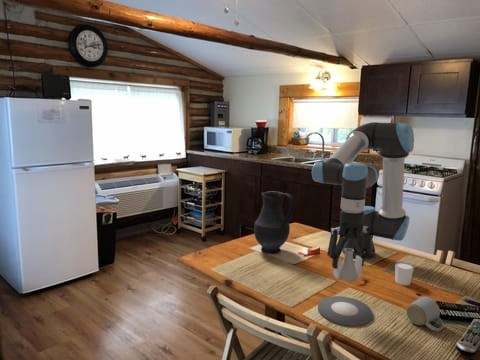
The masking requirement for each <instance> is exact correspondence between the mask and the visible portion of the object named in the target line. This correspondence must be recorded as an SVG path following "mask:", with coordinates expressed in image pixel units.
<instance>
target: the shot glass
mask: <svg viewBox="0 0 480 360" xmlns="http://www.w3.org/2000/svg"><path fill="white" fill-rule="evenodd" d="M394 267H395V269H394V270H395V273H394V275H395V276H394V277H395V278H394V279H395V280H394V281H395V283H397V284H398V285H401V286H410V285H411V282H412V278H413V273H414V266H413V265H411V264H408V263H405V262H404V263H403V262H397V263H395V265H394Z"/></svg>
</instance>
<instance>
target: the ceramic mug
mask: <svg viewBox="0 0 480 360" xmlns="http://www.w3.org/2000/svg"><path fill="white" fill-rule="evenodd" d="M406 315H407V317H408V318H407V319H409V321H410V322H412V324H414V325H416V326H424V325H425V326H426V327H427V328H428V329H430V330H431V331H433V332H437V333H438V332H441V331H442V330H443V329H444V327H445V324H444V322H443V321H442V319H441V317H440V315H441V309H440V307H439V305H438V303H437V302H436V300H435V299H433V298H432V297H429V296H421V297H419V298H418V299H416V300H414V301H413V302H411V303H410V304H409V305H407V308H406ZM433 321H436V322H437V323H438V324H439V326H440V327H435V326H433V325H432V324H431V322H433Z"/></svg>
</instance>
